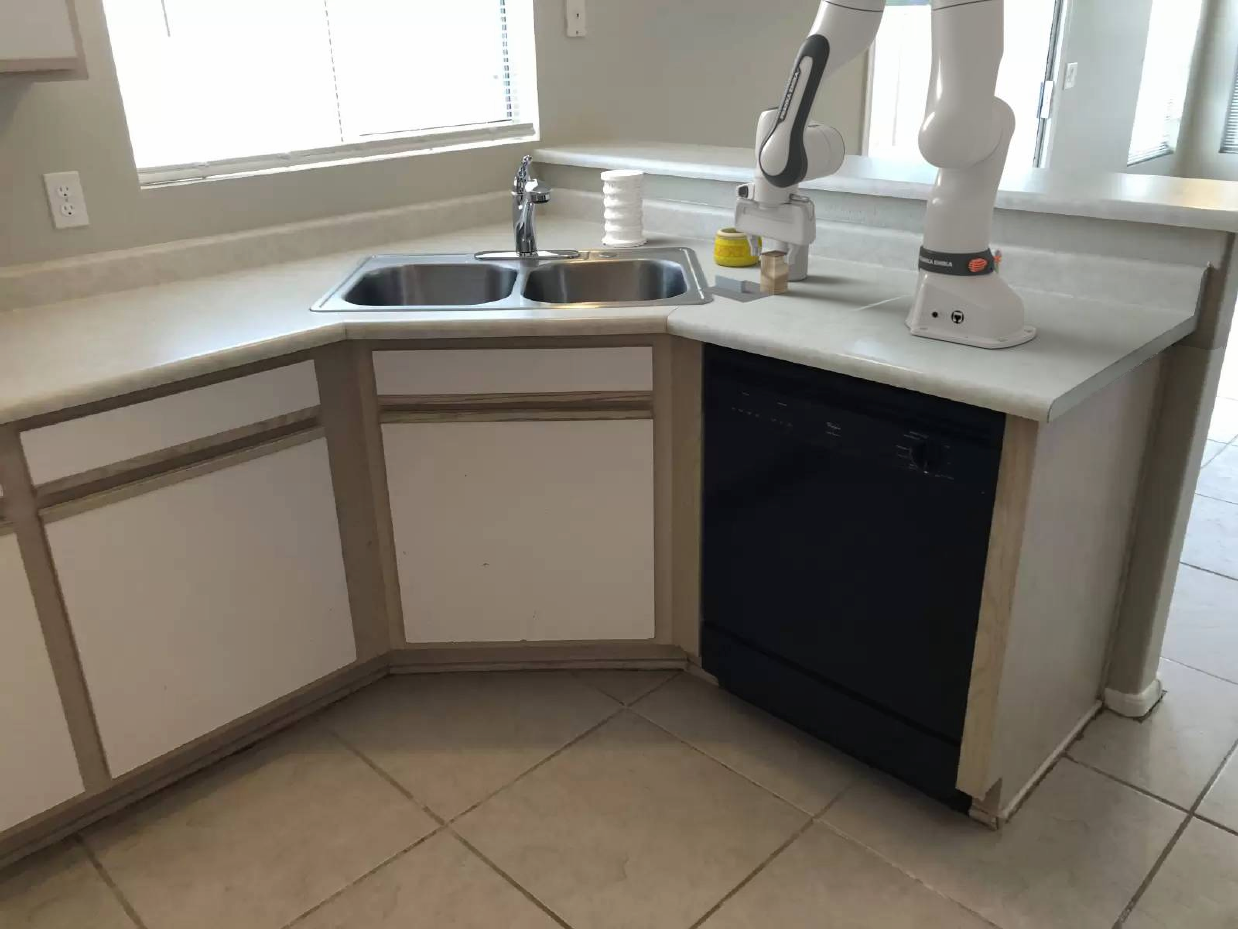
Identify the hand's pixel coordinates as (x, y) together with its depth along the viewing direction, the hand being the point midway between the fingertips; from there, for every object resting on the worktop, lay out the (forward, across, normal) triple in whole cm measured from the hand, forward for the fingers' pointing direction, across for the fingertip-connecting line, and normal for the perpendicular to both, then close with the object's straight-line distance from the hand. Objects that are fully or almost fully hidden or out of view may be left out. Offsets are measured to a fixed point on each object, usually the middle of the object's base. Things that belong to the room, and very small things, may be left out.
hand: (772, 259), depth 194 cm
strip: (+7, +7, +5) cm, 11 cm away
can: (+7, +5, -11) cm, 14 cm away
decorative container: (+8, +63, -10) cm, 64 cm away
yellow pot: (+8, +24, -14) cm, 29 cm away
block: (+6, -1, 0) cm, 7 cm away
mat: (+7, +4, +4) cm, 9 cm away
